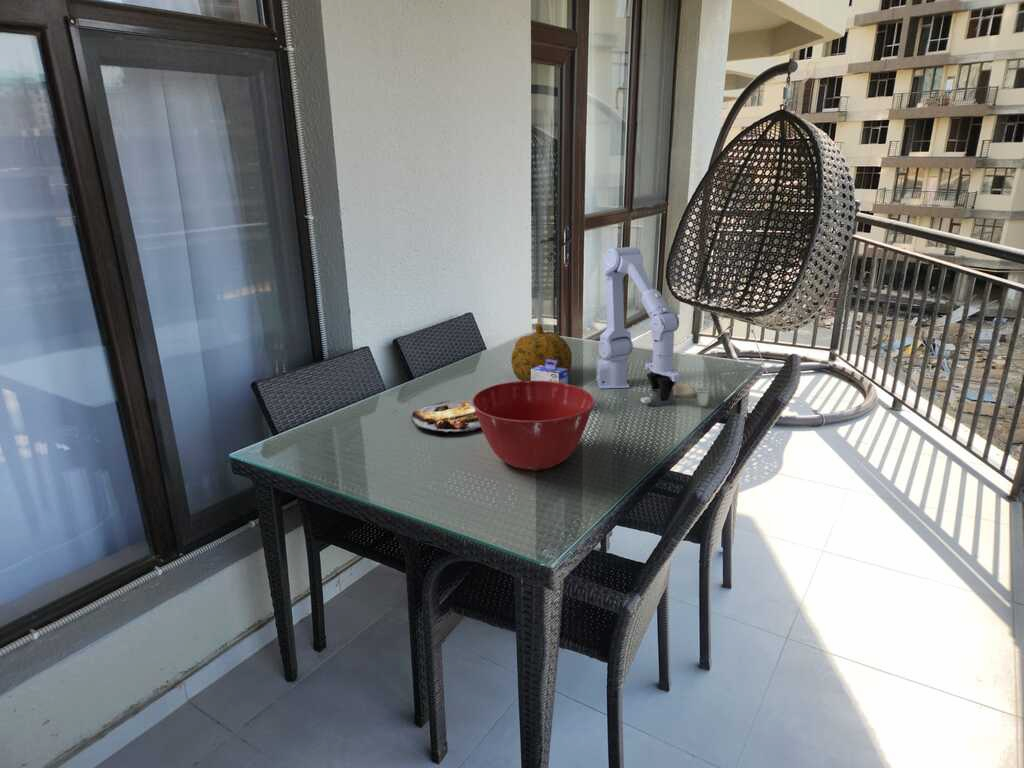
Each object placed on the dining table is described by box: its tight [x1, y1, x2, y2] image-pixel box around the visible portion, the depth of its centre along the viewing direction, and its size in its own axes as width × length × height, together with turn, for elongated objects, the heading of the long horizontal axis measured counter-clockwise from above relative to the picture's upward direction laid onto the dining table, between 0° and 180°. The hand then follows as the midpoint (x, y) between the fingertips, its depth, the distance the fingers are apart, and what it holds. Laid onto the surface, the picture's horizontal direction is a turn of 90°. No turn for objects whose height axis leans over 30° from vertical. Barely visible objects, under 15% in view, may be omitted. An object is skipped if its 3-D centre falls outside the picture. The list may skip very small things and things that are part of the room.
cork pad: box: [673, 383, 697, 399], centre depth 198 cm, size 10×10×1 cm
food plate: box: [410, 399, 482, 434], centre depth 180 cm, size 25×23×4 cm
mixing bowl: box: [471, 380, 595, 471], centre depth 152 cm, size 28×28×16 cm
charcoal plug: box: [640, 388, 675, 407], centre depth 189 cm, size 10×3×4 cm, turn 112°
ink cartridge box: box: [531, 359, 569, 384], centre depth 186 cm, size 10×6×14 cm, turn 55°
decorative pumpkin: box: [510, 323, 573, 381], centre depth 212 cm, size 20×21×20 cm
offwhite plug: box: [695, 387, 709, 408], centre depth 188 cm, size 9×3×4 cm, turn 167°
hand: (660, 398), depth 189 cm, fingers closed on charcoal plug, 3 cm apart
